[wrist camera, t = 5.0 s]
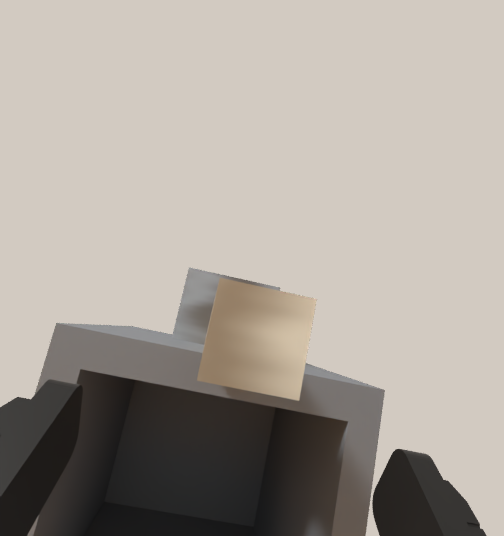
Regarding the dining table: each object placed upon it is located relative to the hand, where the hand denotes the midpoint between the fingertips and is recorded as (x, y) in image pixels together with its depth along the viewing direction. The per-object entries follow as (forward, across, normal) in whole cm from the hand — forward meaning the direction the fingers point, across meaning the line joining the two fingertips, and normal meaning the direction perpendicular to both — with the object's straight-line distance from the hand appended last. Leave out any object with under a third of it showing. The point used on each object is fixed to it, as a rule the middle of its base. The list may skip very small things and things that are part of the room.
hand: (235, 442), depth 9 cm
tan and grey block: (+12, 0, +6) cm, 14 cm away
